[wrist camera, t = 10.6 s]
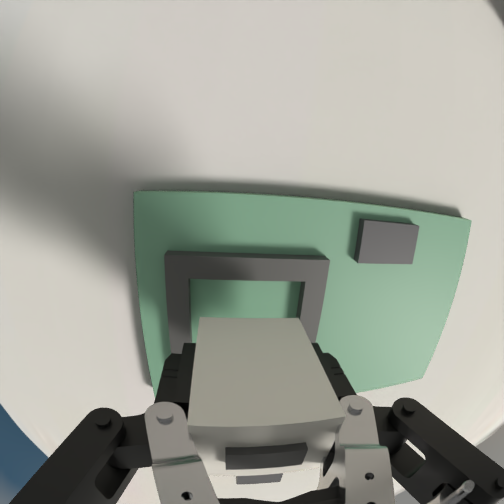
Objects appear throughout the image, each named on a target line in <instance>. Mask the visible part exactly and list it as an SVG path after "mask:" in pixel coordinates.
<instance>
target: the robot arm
mask: <svg viewBox="0 0 504 504" xmlns="http://www.w3.org/2000/svg"><path fill="white" fill-rule="evenodd" d="M311 344H312V346H313V348H314V350H315V352H316V354H317V356H318V359H319V361H320V363H321V365H322V367H323V369H324V371H325V373H326V375H327V377H328V379H329V381H330V383H331V386H332V388H333V390H334V392H335V394H336V396H337V398H338V400H339V402H340V404H341V406H342V409H343V411H344V413H345V415H346V417H345V420H344V422H343V424H339V425H338V427H337V430H336V432H335V441H334V443H333V445H332V447H331V449H330V451H329V453H328V455H327V456H326V457H323V459H322V461H321V463H320V478H319V484H318V487H317V490H315V491H310V492H307V493H305V494H302V495H299V496H297V497H294V498H291V499H288V500H285V501H282V502H270V501H262V500H254V499H247V498H229V499H223V498H217V496H216V494H215V491H214V489H213V487H212V484H211V482H210V479H209V477H208V474H207V471H206V469H205V466H204V464H203V461H202V459H201V457H199V455H198V453H197V450H196V447H195V444H194V441H193V438H192V435H191V433H188V427H187V422H188V411H189V401H190V392H191V382H192V374H193V365H194V357H195V349H196V343H184V344H183V349H182V354H176V353H171V354H170V355H169V356H168V358H167V359H166V360H165V362H164V366H163V370H162V373H161V377H160V381H159V386H158V390H157V394H156V398H155V402H154V404H153V405H151V406H150V407H149V408H148V409H147V410H146V412H145V413H144V414H141V415H137V416H129V417H121V416H120V414H119V413H118V412H117V411H115V410H113V409H110V408H98V409H95V410H93V411H91V412H90V413H89V414H88V415H87V416H86V417H85V418H84V419H83V420H82V421H81V422H80V424H79V425H78V426H77V427H76V428H75V429H74V430H73V431H72V432H71V434H70V435H69V436H68V437H67V438H66V439H65V440H64V441H63V443H62V444H61V445H60V446H59V447H58V448H57V449H56V450H55V452H54V453H53V454H52V455H51V456H50V457H49V458H48V459H47V461H46V462H45V463H44V464H43V465H42V466H41V467H40V469H39V470H38V471H37V472H36V473H35V474H34V475H33V477H32V478H31V479H30V480H29V481H28V482H27V483H26V485H25V486H24V487H23V488H22V489H21V490H20V491H19V493H18V494H17V495H16V496H15V497H14V498H13V500H12V501H11V502H10V503H9V504H116V503H117V501H118V500H119V498H120V497H121V495H122V493H123V492H124V490H125V489H126V487H127V486H128V484H129V482H130V481H131V479H132V478H133V476H134V474H135V473H136V471H137V470H138V468H142V467H150V466H152V470H153V474H154V479H155V483H156V487H157V491H158V495H159V499H160V502H161V504H395V496H394V487H393V479H392V477H393V478H394V479H395V480H396V481H397V482H398V483H399V484H400V485H401V486H402V487H404V488H405V489H406V490H407V491H408V492H409V493H410V494H411V495H412V496H413V497H414V498H415V499H416V500H417V501H418V502H419V503H420V504H497V503H499V502H500V501H501V500H502V499H504V469H503V468H502V467H501V466H499V465H498V464H497V463H495V462H494V461H493V460H491V459H490V458H489V457H488V456H486V455H485V454H484V453H482V452H481V451H480V450H479V449H477V448H476V447H475V446H473V445H472V444H471V443H470V442H468V441H467V440H466V439H464V438H463V437H462V436H461V435H459V434H458V433H457V432H456V431H454V430H453V429H452V428H450V427H449V426H448V425H447V424H445V423H444V422H443V421H442V420H440V419H439V418H438V417H437V416H435V415H434V414H433V413H432V412H430V411H429V410H428V409H426V408H425V407H424V406H423V405H421V404H420V403H419V402H418V401H416V400H414V399H411V398H400V399H398V400H396V401H395V402H394V404H393V406H392V407H376V406H372V404H371V402H370V401H369V400H367V399H366V398H364V397H361V396H358V395H356V393H355V391H354V389H353V387H352V386H351V384H350V382H349V380H348V378H347V377H346V375H345V374H344V371H343V370H342V368H341V366H340V364H339V362H338V361H337V359H336V358H335V357H333V356H332V355H331V354H330V353H323V352H322V350H321V348H320V346H319V344H318V343H311ZM407 439H408V440H409V441H410V442H411V443H412V444H413V445H414V446H416V447H417V448H418V449H419V450H420V451H421V452H422V453H423V454H424V455H425V458H426V460H424V459H423V458H422V457H421V456H420V455H419V454H417V453H416V452H415V451H414V450H413V449H412V448H411V447H410V446H409V445H407V444H406V443H405V442H406V441H407Z"/></svg>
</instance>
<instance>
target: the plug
mask: <svg viewBox="0 0 504 504" xmlns="http://www.w3.org/2000/svg"><path fill="white" fill-rule="evenodd" d="M345 417H346V415H345V413H344V411H343V409H342V406H341V404H340V402H339V400H338V398H337V396H336V394H335V392H334V390H333V388H332V386H331V383H330V381H329V379H328V377H327V375H326V373H325V371H324V369H323V367H322V365H321V363H320V361H319V359H318V356H317V354H316V352H315V350H314V348H313V346H312V344H311V342H310V340H309V338H308V336H307V334H306V332H305V330H304V328H303V326H302V324H301V322H300V320H299V318H216V317H200V319H199V326H198V333H197V341H196V349H195V357H194V365H193V374H192V382H191V392H190V401H189V411H188V422H187V427H188V433H191V435H192V438H193V441H194V444H195V447H196V450H197V453H198V455H199V457H201V459H202V461H203V464H204V466H205V469H206V471H207V474H208V476H236V483H237V484H258V483H271V482H280V480H281V478H282V475H283V473H288V472H296V471H304V470H310V469H316V468H320V463H321V461H322V459H323V457H326V456H327V455H328V453H329V451H330V449H331V447H332V445H333V443H334V441H335V432H336V430H337V427H338V425H339V424H343V422H344V420H345Z"/></svg>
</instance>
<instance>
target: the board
mask: <svg viewBox="0 0 504 504" xmlns="http://www.w3.org/2000/svg"><path fill="white" fill-rule="evenodd" d="M470 227H471V220H468V219H465V218H462V217H456V216H450V215H445V214H439V213H433V212H427V211H420V210H414V209H407V208H400V207H393V206H385V205H378V204H370V203H361V202H352V201H343V200H333V199H323V198H312V197H300V196H287V195H273V194H257V193H237V192H211V191H136V192H134V242H135V260H136V273H137V285H138V295H139V305H140V313H141V321H142V328H143V335H144V342H145V348H146V354H147V360H148V365H149V371H150V376H151V381H152V386H153V391H154V395H155V398H156V394H157V390H158V386H159V381H160V377H161V373H162V370H163V366H164V362H165V360H166V359H167V358H168V356H169V355H170V354H171V353H176V354H182V349H183V344H184V343H196V341H197V333H198V326H199V319H200V317H216V318H299V320H300V322H301V324H302V326H303V328H304V330H305V332H306V334H307V336H308V338H309V340H310V342H311V343H318V344H319V346H320V348H321V350H322V352H323V353H330V354H331V355H332V356H333V357H335V358H336V359H337V361H338V362H339V364H340V366H341V368H342V370H343V371H344V374H345V375H346V377H347V378H348V380H349V382H350V384H351V386H352V387H353V389H354V391H355V393H358V392H364V391H369V390H374V389H379V388H384V387H389V386H393V385H397V384H402V383H406V382H410V381H414V380H417V379H421V378H423V376H424V374H425V371H426V369H427V367H428V365H429V363H430V360H431V358H432V356H433V353H434V351H435V349H436V346H437V344H438V341H439V339H440V336H441V334H442V331H443V328H444V325H445V323H446V320H447V317H448V314H449V311H450V308H451V305H452V302H453V299H454V295H455V292H456V288H457V285H458V281H459V278H460V274H461V270H462V266H463V262H464V257H465V253H466V248H467V243H468V238H469V232H470Z"/></svg>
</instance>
